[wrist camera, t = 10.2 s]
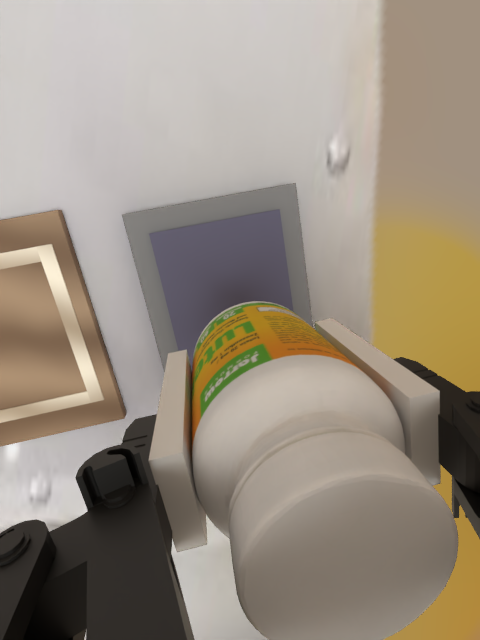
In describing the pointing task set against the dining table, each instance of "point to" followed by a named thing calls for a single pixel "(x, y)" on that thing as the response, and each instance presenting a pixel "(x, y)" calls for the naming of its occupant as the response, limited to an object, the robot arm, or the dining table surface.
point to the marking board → (49, 336)
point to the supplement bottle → (311, 483)
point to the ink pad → (217, 261)
